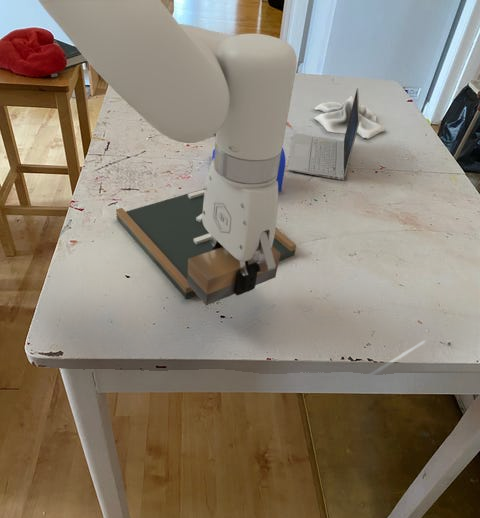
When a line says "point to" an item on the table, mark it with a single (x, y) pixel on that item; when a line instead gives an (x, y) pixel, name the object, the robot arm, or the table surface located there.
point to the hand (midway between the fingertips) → (232, 278)
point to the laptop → (325, 150)
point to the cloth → (347, 118)
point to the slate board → (178, 236)
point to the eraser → (220, 274)
